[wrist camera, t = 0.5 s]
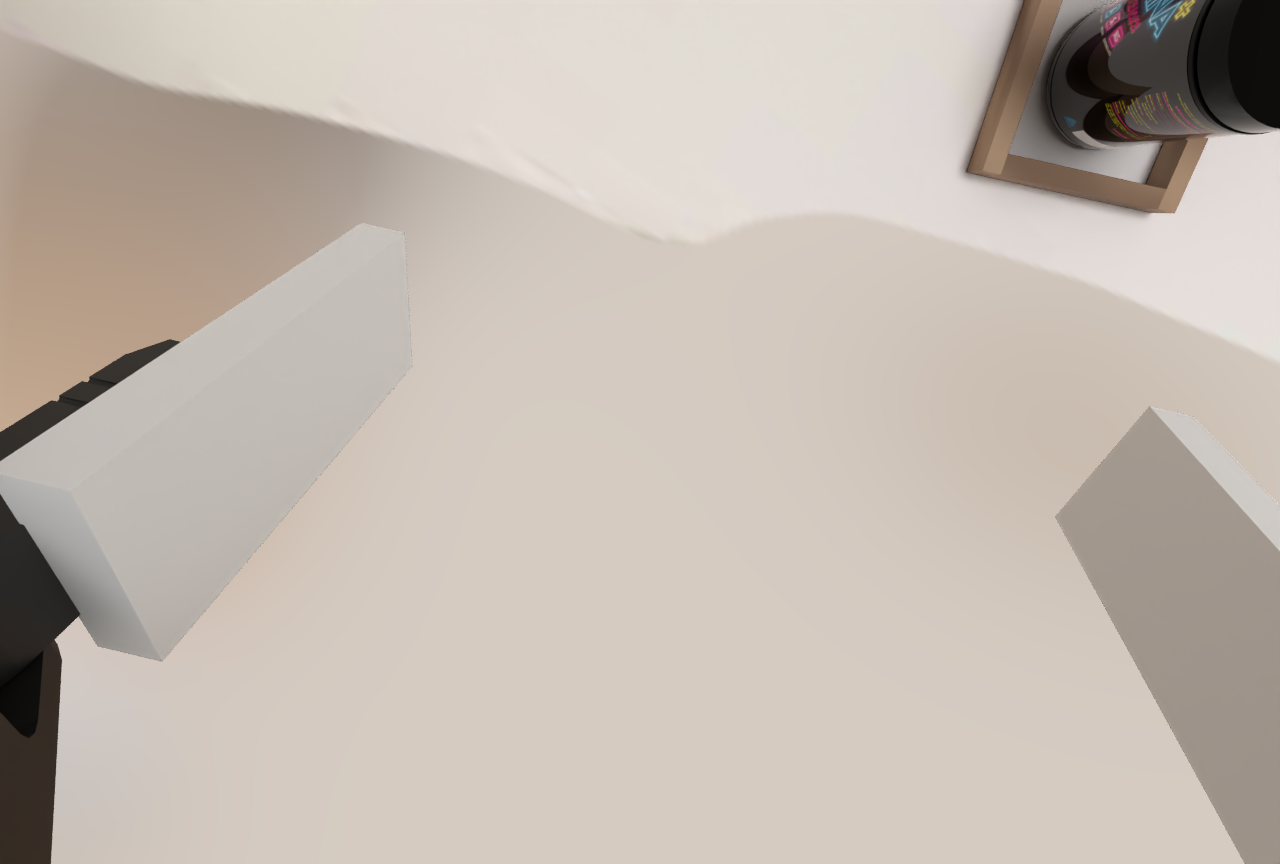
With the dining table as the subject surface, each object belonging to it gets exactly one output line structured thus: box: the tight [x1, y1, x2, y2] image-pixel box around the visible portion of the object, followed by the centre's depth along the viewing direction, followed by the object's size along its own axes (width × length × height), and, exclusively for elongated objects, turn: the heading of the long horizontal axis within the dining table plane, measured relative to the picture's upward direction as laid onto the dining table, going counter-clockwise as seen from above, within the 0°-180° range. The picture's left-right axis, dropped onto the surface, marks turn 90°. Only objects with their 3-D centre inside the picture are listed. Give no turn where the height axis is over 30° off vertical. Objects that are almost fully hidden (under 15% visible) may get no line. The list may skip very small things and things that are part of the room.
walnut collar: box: [967, 0, 1208, 213], centre depth 31 cm, size 11×11×2 cm
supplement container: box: [1047, 0, 1280, 150], centre depth 27 cm, size 7×7×10 cm
